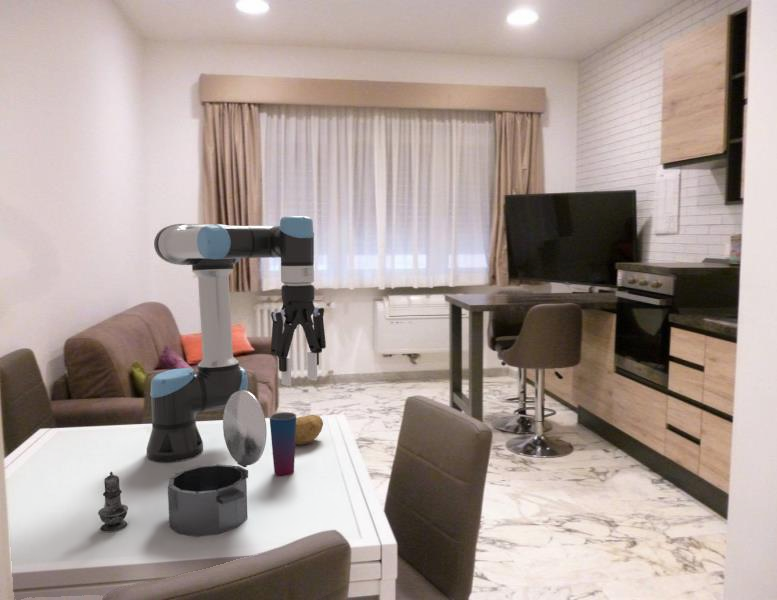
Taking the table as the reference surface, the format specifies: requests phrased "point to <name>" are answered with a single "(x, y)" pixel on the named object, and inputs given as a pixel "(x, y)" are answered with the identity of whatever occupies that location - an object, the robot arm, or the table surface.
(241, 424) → the lid
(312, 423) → the potato
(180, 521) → the pot
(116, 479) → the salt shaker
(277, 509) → the table surface
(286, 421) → the cup
